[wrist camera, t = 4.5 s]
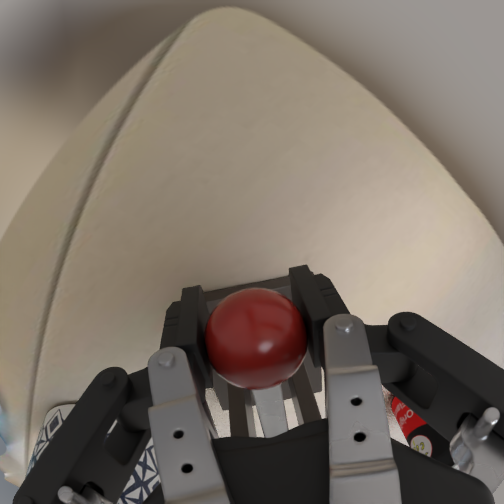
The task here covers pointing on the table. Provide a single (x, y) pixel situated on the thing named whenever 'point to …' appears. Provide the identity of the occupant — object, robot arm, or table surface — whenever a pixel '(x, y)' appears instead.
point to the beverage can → (422, 434)
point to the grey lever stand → (295, 387)
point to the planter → (146, 469)
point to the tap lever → (258, 348)
